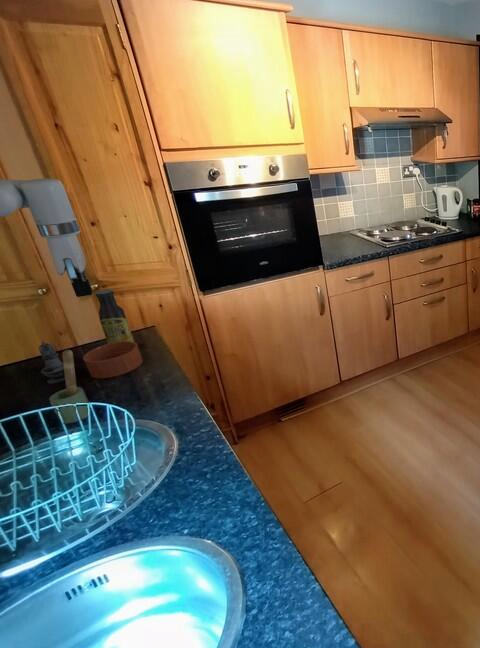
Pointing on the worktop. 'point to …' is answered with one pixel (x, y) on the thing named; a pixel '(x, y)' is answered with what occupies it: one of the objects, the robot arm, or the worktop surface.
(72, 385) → the stick
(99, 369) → the bowl
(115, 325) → the sauce bottle
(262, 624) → the worktop surface
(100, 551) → the worktop surface
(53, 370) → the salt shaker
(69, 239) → the robot arm
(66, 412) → the holder
